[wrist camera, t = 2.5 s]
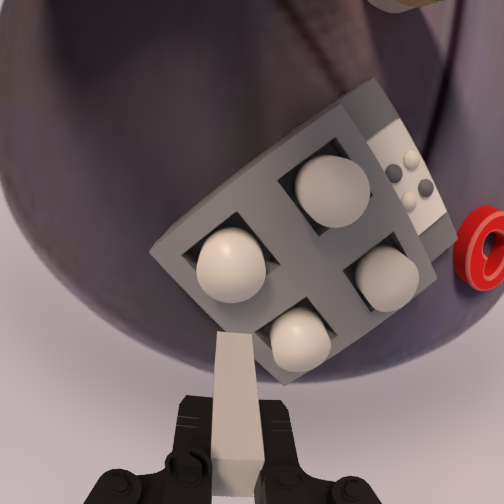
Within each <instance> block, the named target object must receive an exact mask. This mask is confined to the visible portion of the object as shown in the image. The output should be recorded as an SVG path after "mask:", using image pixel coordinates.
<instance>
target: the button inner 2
mask: <svg viewBox="0 0 504 504" xmlns="http://www.w3.org/2000/svg"><path fill="white" fill-rule="evenodd" d="M294 191H295V196H296V198H297V201H298V202H299V204H300V205H301V207H302V208H303V209H304V210H305V211H306V212H307V213H308V214H309V215H310V216H311V217H312V218H313V219H314V220H315V221H316V222H318V223H319V224H321V225H323V226H326V227H331V228H340V227H344V226H347V225H350V224H352V223H353V222H355V221H356V220H357V219H358V218H359V217H360V216H361V215H362V214H363V213H364V211H365V209H366V207H367V205H368V202H369V198H370V185H369V181H368V178H367V176H366V174H365V172H364V171H363V170H362V168H361V167H360V166H359V165H357V164H356V163H355V162H353V161H351V160H349V159H346V158H342V157H337V156H332V155H318V156H314V157H312V158H310V159H309V160H307V161H306V162H305V163H304V164H303V165H302V166H301V167H300V169H299V170H298V172H297V174H296V177H295V181H294Z"/></svg>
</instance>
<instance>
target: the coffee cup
mask: <svg viewBox="0 0 504 504" xmlns="http://www.w3.org/2000/svg"><path fill="white" fill-rule="evenodd" d="M367 1H368V2H369V3H371V4H372V5H373V6H375V7H376V8H378V9H380V10H382V11H385V12H388V13H401V12H404V11H407V10H410V9H413V8H416V7H422V6H426V5H429V4H433V3H436V2H439V1H443V0H367Z"/></svg>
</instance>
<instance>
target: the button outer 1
mask: <svg viewBox="0 0 504 504" xmlns="http://www.w3.org/2000/svg"><path fill="white" fill-rule="evenodd" d="M269 335H270V341H271V346H272V352H273V357H274V360H275V362H276V363H277V365H278V366H280V367H281V368H282V369H284V370H287V371H290V372H304V371H308V370H311V369H313V368H315V367H317V366H318V365H320V364H321V363H322V362H323V361H324V360H325V359H326V358H327V356H328V354H329V352H330V349H331V342H330V338H329V336H328V334H327V332H326V330H325V327H324V325H323V323H322V321H321V319H320V317H319V315H318V314H317V313H316V312H315V311H313V310H311V309H309V308H305V307H294V308H290V309H288V310H286V311H285V312H283V313H282V314H280V315H279V316H277V317H276V318H274V320H273V321H272V323H271V325H270V329H269Z"/></svg>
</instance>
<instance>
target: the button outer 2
mask: <svg viewBox="0 0 504 504" xmlns="http://www.w3.org/2000/svg"><path fill="white" fill-rule="evenodd" d="M354 279H355V283H356V285H357V287H358V288H359V290H360V291H361V292H362V294H363V295H364V296H365V298H366V299H367V300H368V302H369V303H370V304H371V306H372V307H373V308H375V309H376V310H378V311H381V312H392V311H395V310H397V309H400V308H401V307H403V306H404V305H405V304H407V303H408V302H409V301H410V300H411V298H412V297H413V295H414V294H415V292H416V290H417V287H418V283H419V272H418V269H417V267H416V265H415V264H414V263H413V262H412V261H411V260H410V259H408V258H407V257H406V256H405V255H403V254H402V253H401V252H399V251H398V250H397V249H396V248H394V247H392V246H390V245H385V244H382V245H376V246H374V247H373V248H371V249H370V250H369V251H368V252H366V253H365V254H364V255H362V256H361V257H360V258H359V260H358V262H357V264H356V267H355V271H354Z"/></svg>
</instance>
